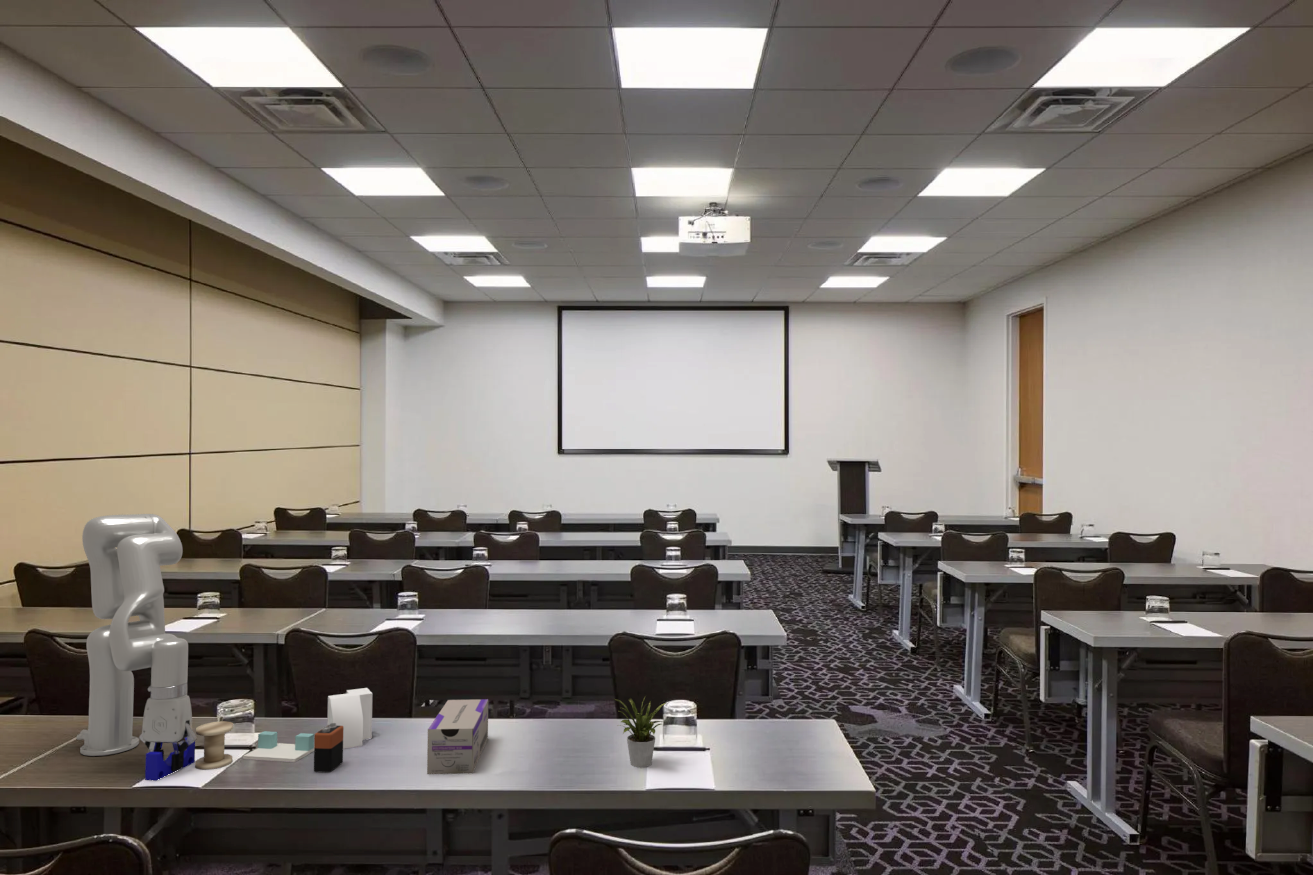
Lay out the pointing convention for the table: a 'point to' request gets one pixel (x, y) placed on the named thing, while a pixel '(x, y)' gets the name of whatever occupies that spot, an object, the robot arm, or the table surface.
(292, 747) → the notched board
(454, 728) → the surgical sutures box
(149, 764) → the blue cradle bracket
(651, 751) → the house plant
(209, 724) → the bobbin
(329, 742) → the battery
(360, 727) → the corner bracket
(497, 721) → the table surface
